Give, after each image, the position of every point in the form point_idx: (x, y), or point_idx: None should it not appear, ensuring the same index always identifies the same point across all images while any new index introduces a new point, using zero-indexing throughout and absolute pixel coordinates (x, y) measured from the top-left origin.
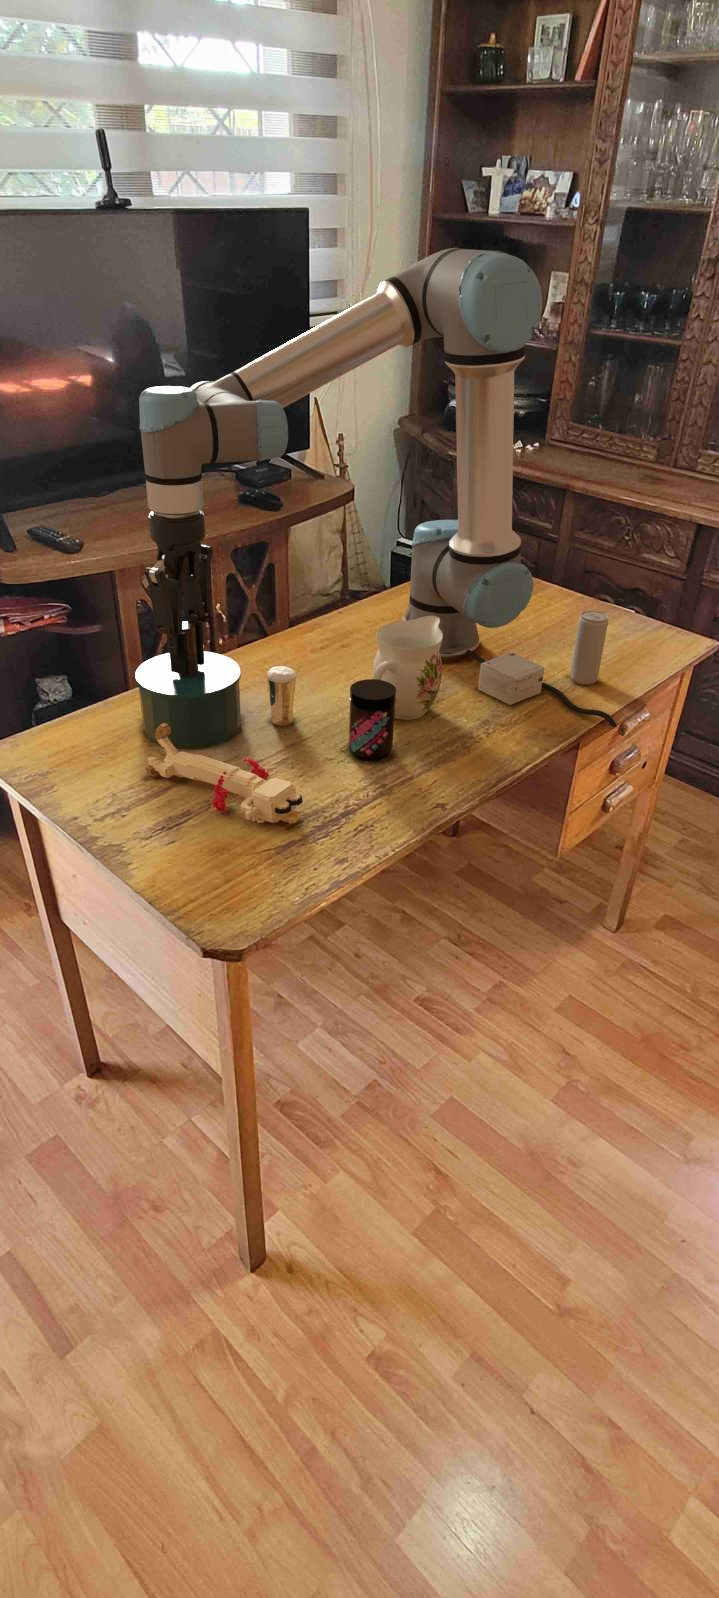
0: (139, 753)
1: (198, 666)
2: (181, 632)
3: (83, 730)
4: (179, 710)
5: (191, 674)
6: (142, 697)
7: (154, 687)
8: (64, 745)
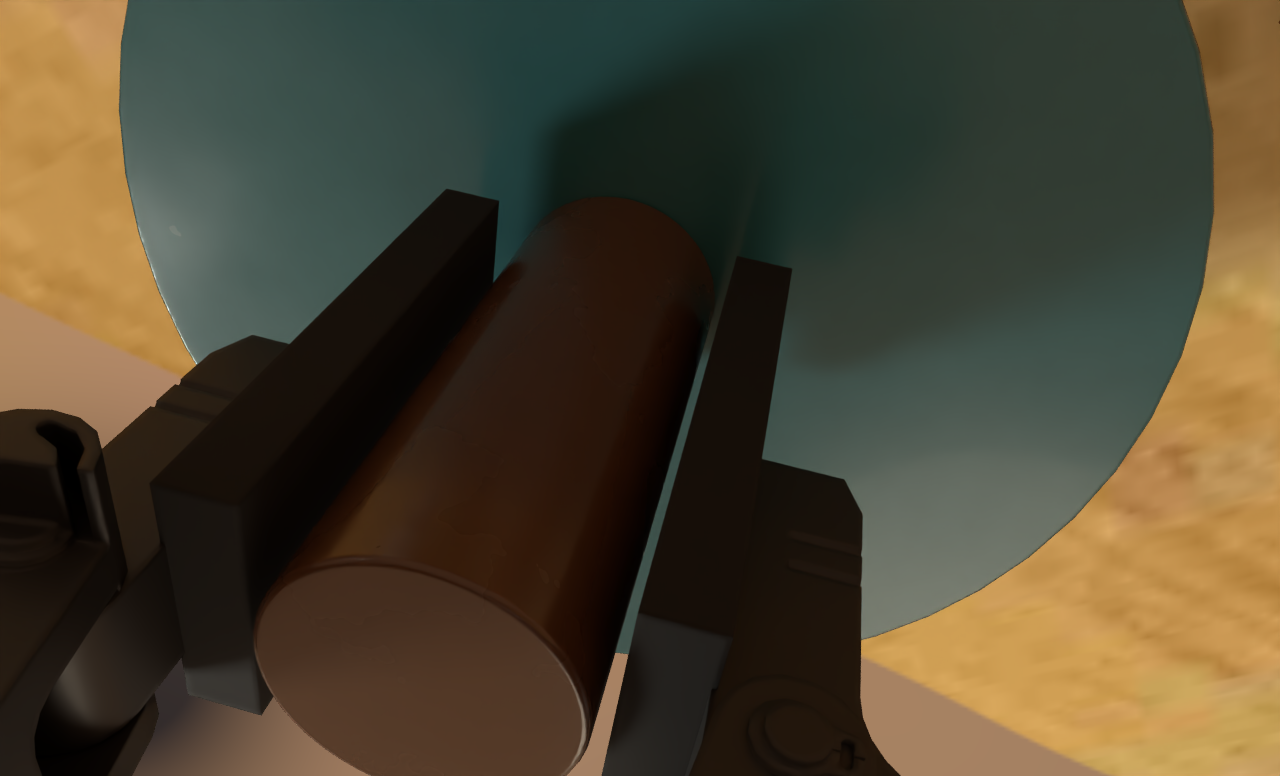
0: None
1: None
2: (741, 685)
3: (926, 618)
4: None
5: (685, 237)
6: None
7: (1040, 465)
8: (1102, 648)
